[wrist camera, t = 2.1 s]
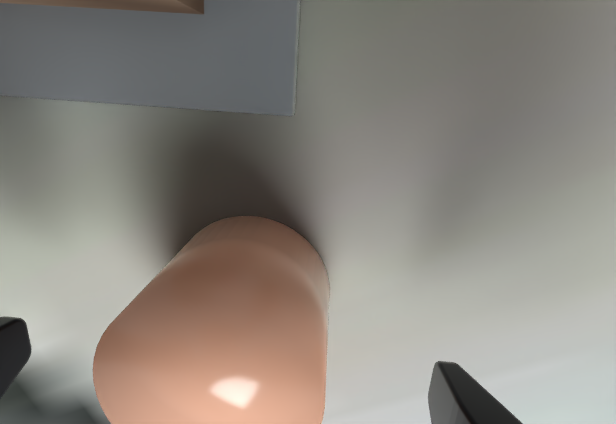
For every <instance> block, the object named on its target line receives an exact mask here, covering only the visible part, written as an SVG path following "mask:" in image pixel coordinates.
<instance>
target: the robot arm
mask: <svg viewBox="0 0 616 424" xmlns="http://www.w3.org/2000/svg"><path fill="white" fill-rule="evenodd" d="M30 355H31V344H30V339H29V334H28V330H27V325H26V322H25V321H24V320H23V319H21V318H16V317H0V399H1V397H2V396H3V395H4V393H5V392H6V390H7V389H8V388H9V386H10V385H11V383H12V382H13V381H14V379H15V378H16V377H17V375H18V374H19V372H20V371H21V370H22V368H23V367H24V365H25V364H26V363H27V361H28V360H29V357H30ZM428 403H429V410H430V416H431V423H432V424H523V423H522V422H520V421H519V420H518V419H517V418H516V417H515V416H514V415H513V414H512V413H511V412H510V411H508V410H507V409H506V408H505V407H504V406H503V405H502V404H501V403H500V402H499V401H497V400H496V399H495V398H494V397H493V396H492V395H491V394H490V393H489V392H488V391H487V390H485V389H484V388H483V387H482V386H481V385H480V384H479V383H478V382H477V381H476V380H475V379H473V378H472V377H471V376H470V375H469V374H468V373H467V372H466V371H465V370H464V369H463V368H461V367H460V366H459V365H458V364H456V363H453V362H444V361H438V362H436V363H435V365H434V368H433V373H432V378H431V383H430V388H429V393H428Z"/></svg>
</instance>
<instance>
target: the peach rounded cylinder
mask: <svg viewBox="0 0 616 424" xmlns="http://www.w3.org/2000/svg"><path fill="white" fill-rule="evenodd" d="M329 297H330V286H329V278H328V275H327V271H326V268H325V266H324V264H323V261H322V259H321V258H320V256H319V254H318V253H317V251H316V250H315V249H314V248H313V246H312V245H311V244H310V243H309V242H308V241H307V240H306V239H305V238H304V237H303V236H302V235H300V234H299V233H297V232H296V231H295V230H293V229H291V228H290V227H288V226H286V225H284V224H282V223H279V222H277V221H274V220H271V219H267V218H263V217H257V216H235V217H229V218H225V219H221V220H219V221H216V222H214V223H212V224H210V225H208V226H206V227H204V228H203V229H202V230H200V231H199V232H198V233H196V234H195V235H194V237H193V238H192V239H191V240H190V241H189V242H188V243H187V244H186V245H185V246H184V247H183V248H182V249H181V250H180V251H179V252H178V253H177V254H176V255H175V256H174V257H173V259H172V260H171V261H170V262H169V263H168V264H167V265H166V266H165V267H164V268H163V269H162V270H161V271H160V272H159V273H158V274H157V275H156V276H155V278H154V279H153V280H152V281H151V282H150V283H149V284H148V285H147V286H146V287H145V288H144V289H143V290H142V291H141V292H140V293H139V294H138V295H137V296H136V298H135V299H134V300H133V301H132V302H131V303H130V304H129V305H128V306H127V307H126V308H125V309H124V310H123V311H122V312H121V313H120V314H119V315H118V316H117V318H116V319H115V320H114V321H113V322H112V323H111V324H110V325H109V326H108V328H107V329H106V331H105V332H104V333H103V335H102V337H101V339H100V341H99V343H98V345H97V348H96V352H95V356H94V362H93V380H94V386H95V391H96V395H97V397H98V400H99V403H100V405H101V407H102V409H103V411H104V413H105V415H106V416H107V418H108V420H109V421H110V422H111V424H321V423H322V420H323V414H324V409H325V389H326V366H327V343H328V320H329Z"/></svg>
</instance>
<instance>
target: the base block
mask: <svg viewBox="0 0 616 424" xmlns="http://www.w3.org/2000/svg"><path fill="white" fill-rule="evenodd" d="M0 3H11V4H29V5H46V6H64V7H82V8H99V9H117V10H134V11H152V12H170V13H187V14H204V0H0Z"/></svg>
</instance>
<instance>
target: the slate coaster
mask: <svg viewBox="0 0 616 424" xmlns="http://www.w3.org/2000/svg"><path fill="white" fill-rule="evenodd" d="M299 21H300V0H204V14H187V13H170V12H152V11H134V10H117V9H99V8H82V7H64V6H46V5H29V4H11V3H0V96H12V97H26V98H40V99H54V100H68V101H83V102H97V103H111V104H125V105H139V106H153V107H167V108H182V109H196V110H210V111H224V112H238V113H252V114H267V115H281V116H293V115H295V102H296V81H297V61H298V41H299Z"/></svg>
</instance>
